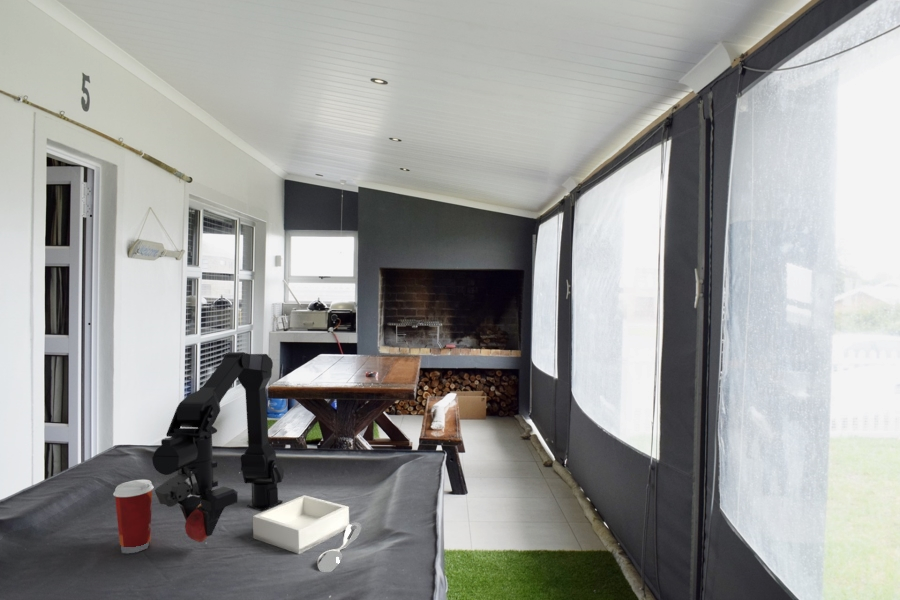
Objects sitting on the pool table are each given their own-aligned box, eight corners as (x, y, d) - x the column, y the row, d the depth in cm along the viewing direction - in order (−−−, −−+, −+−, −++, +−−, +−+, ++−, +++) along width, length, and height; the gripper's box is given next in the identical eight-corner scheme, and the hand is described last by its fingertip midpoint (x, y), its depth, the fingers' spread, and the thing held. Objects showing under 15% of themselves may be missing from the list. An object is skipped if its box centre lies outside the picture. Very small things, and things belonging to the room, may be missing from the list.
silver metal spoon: (346, 513, 129) (365, 514, 129) (346, 528, 130) (366, 529, 129) (313, 559, 110) (336, 560, 109) (314, 577, 110) (337, 578, 109)
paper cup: (163, 542, 124) (161, 480, 124) (133, 558, 117) (131, 492, 117) (136, 538, 127) (134, 477, 127) (106, 553, 120) (103, 488, 120)
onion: (204, 549, 115) (202, 510, 115) (179, 547, 117) (178, 509, 116) (221, 536, 121) (220, 500, 121) (197, 535, 122) (196, 498, 122)
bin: (253, 538, 126) (252, 516, 126) (304, 515, 138) (304, 495, 138) (299, 554, 117) (298, 530, 117) (349, 528, 130) (348, 506, 130)
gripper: (136, 463, 117) (138, 537, 117) (187, 477, 107) (190, 558, 107) (186, 449, 126) (188, 518, 126) (238, 461, 116) (240, 536, 116)
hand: (200, 532), depth 119 cm, fingers closed on onion, 6 cm apart
